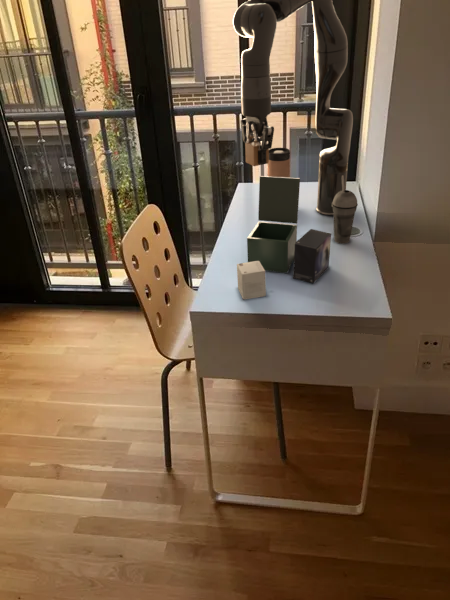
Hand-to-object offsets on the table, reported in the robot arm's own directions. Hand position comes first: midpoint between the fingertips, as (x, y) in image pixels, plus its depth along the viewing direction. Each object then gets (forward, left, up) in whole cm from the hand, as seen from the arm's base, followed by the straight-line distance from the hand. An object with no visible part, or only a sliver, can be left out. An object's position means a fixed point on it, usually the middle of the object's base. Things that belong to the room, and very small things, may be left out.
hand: (257, 161), depth 137 cm
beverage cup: (-12, +23, -27) cm, 37 cm away
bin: (+6, +6, -26) cm, 28 cm away
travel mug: (-34, -2, -27) cm, 43 cm away
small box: (+11, +18, -27) cm, 34 cm away
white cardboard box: (+24, +5, -27) cm, 36 cm away
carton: (0, 0, 0) cm, 0 cm away
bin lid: (0, +6, -11) cm, 12 cm away
